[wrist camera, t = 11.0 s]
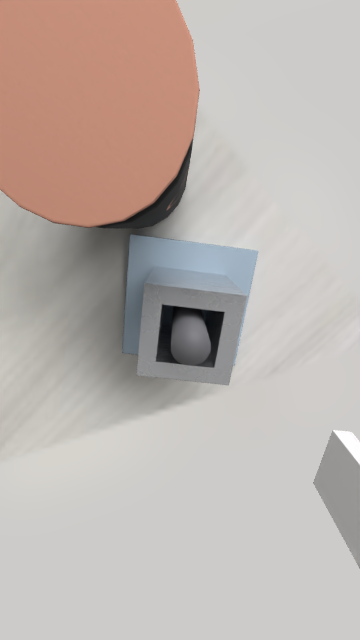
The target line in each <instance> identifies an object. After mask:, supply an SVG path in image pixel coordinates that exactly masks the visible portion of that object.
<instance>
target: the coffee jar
mask: <svg viewBox="0 0 360 640" xmlns="http://www.w3.org/2000/svg"><path fill="white" fill-rule="evenodd" d="M199 91H200V90H199V82H198V75H197V68H196V60H195V53H194V45H193V40H192V38H191V35H190V33H189V30H188V28H187V25H186V23H185V21H184V18H183V16H182V13H181V11H180V9H179V6H178V4H177V1H176V0H0V190H1V191H2V192H4V193H5V194H6V195H7V196H8V197H9V198H11V199H12V200H13V201H14V202H15V203H16V204H17V205H19V206H20V207H21V208H24V209H26V210H28V211H30V212H32V213H34V214H36V215H38V216H41V217H43V218H45V219H47V220H49V221H51V222H53V223H58V224H65V225H73V226H80V227H87V228H91V227H99V228H142V227H147V226H152V225H155V224H156V223H158V222H160V221H161V220H163V219H165V218H167V217H168V216H169V215H170V213H171V212H172V211H173V210H174V209H175V208H176V206H177V205H178V204H179V202H180V199H181V197H182V195H183V192H184V190H185V187H186V181H187V175H188V169H189V163H190V158H191V152H192V144H193V137H194V130H195V123H196V115H197V107H198V99H199Z"/></svg>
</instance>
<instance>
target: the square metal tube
mask: <svg viewBox="0 0 360 640" xmlns="http://www.w3.org/2000/svg"><path fill="white" fill-rule="evenodd" d="M246 300H247V295H246V294H245V293H244V292H243V291H242V290H241V289H240V288H239V287H238V286H237V285H236V284H235V283H234V282H233V281H232V280H231V279H230V278H228V277H227V276H226V275H221V274H213V273H205V272H197V271H189V270H181V269H173V268H166V267H158V266H155V267H154V268H153V270H152V272H151V273H150V275H149V277H148V278H147V280H146V281H145V283H144V293H143V305H142V317H141V329H140V340H139V352H138V364H137V375H138V376H147V377H156V378H166V379H175V380H184V381H194V382H203V383H212V384H222V385H229V382H230V377H231V372H232V367H233V362H234V357H235V353H236V348H237V343H238V338H239V333H240V329H241V324H242V319H243V314H244V309H245V305H246ZM164 305H171V306H179V307H188V308H196V309H205V310H207V312H206V318H205V325H206V329H207V332H208V336H209V339H210V343H211V351H210V354H209V356H208V357H207V358H206V359H205V360H204V361H203V362H202V363H200V364H197V365H191V366H190V365H184V364H181V363H180V362H178V361H177V360H176V359H175V358H174V357H173V355H172V352H171V335H172V324H168V323H162V321H163V312H164Z"/></svg>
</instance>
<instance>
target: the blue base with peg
mask: <svg viewBox="0 0 360 640" xmlns="http://www.w3.org/2000/svg"><path fill="white" fill-rule="evenodd" d="M257 255H258V251H256V250H249V249H241V248H233V247H226V246H218V245H210V244H203V243H195V242H187V241H180V240H172V239H164V238H157V237H149V236H141V235H134V234H130V243H129V259H128V274H127V289H126V305H125V320H124V335H123V350H122V353H128V354H137V355H138V352H139V340H140V329H141V317H142V305H143V293H144V283H145V281H146V280H147V278H148V277H149V275H150V273H151V272H152V270H153V268H154V267H155V266H158V267H166V268H173V269H181V270H189V271H197V272H205V273H213V274H221V275H226V276H227V277H228V278H230V279H231V280H232V281H233V282H234V283H235V284H236V285H237V286H238V287H239V288H240V289H241V290H242V291H243V292H244V293H245V294H246V295H247V300H246V305H245V309H244V314H243V319H242V324H241V329H240V333H239V338H238V343H237V348H236V353H235V357H234V362H233V365H235V360H236V355H237V350H238V346H239V341H240V336H241V331H242V327H243V322H244V317H245V312H246V308H247V303H248V298H249V293H250V289H251V284H252V279H253V274H254V269H255V265H256V260H257ZM206 312H207V310H205V309H196V308H188V307H179V306H171V305H164V312H163V321H162V323H168V324H172V335H171V352H172V355H173V357H174V358H175V359H176V360H177V361H178V362H180V363H181V364H184V365H190V366H191V365H197V364H200V363H202V362H203V361H204V360H205V359H206V358H207V357H208V356H209V354H210V351H211V343H210V339H209V336H208V332H207V329H206V325H205V318H206Z"/></svg>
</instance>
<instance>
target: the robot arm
mask: <svg viewBox="0 0 360 640" xmlns="http://www.w3.org/2000/svg"><path fill="white" fill-rule="evenodd" d="M313 483H314V485H315V487H316V489H317V490H318V492H319V494H320V496H321V498H322V499H323V501H324V503H325V505H326V507H327V509H328V511H329V513H330V515H331V516H332V518H333V520H334V522H335V523H336V525H337V527H338V529H339V531H340V533H341V535H342V537H343V538H344V540H345V542H346V544H347V546H348V548H349V549H350V551H351V553H352V555H353V557H354V559H355V560H356V562H357V564H358V566H359V568H360V441H359V440H358V439H357V438H356V437H355V436H354V435H353V433H352V432H347V431H337V430H333V431H332V433H331V436H330V439H329V442H328V444H327V447H326V450H325V452H324V455H323V458H322V460H321V463H320V466H319V469H318V471H317V474H316V477H315V479H314V482H313Z"/></svg>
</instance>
